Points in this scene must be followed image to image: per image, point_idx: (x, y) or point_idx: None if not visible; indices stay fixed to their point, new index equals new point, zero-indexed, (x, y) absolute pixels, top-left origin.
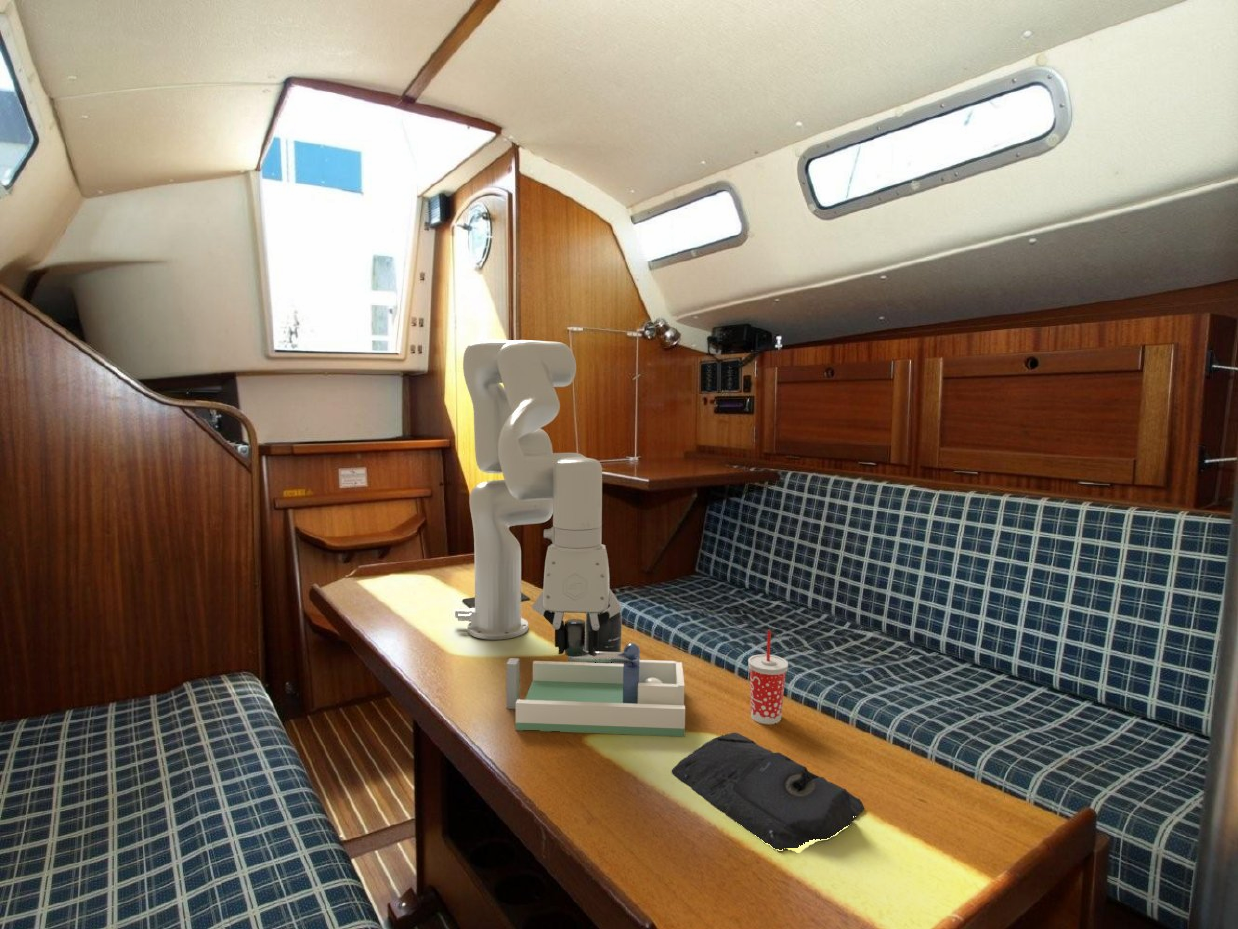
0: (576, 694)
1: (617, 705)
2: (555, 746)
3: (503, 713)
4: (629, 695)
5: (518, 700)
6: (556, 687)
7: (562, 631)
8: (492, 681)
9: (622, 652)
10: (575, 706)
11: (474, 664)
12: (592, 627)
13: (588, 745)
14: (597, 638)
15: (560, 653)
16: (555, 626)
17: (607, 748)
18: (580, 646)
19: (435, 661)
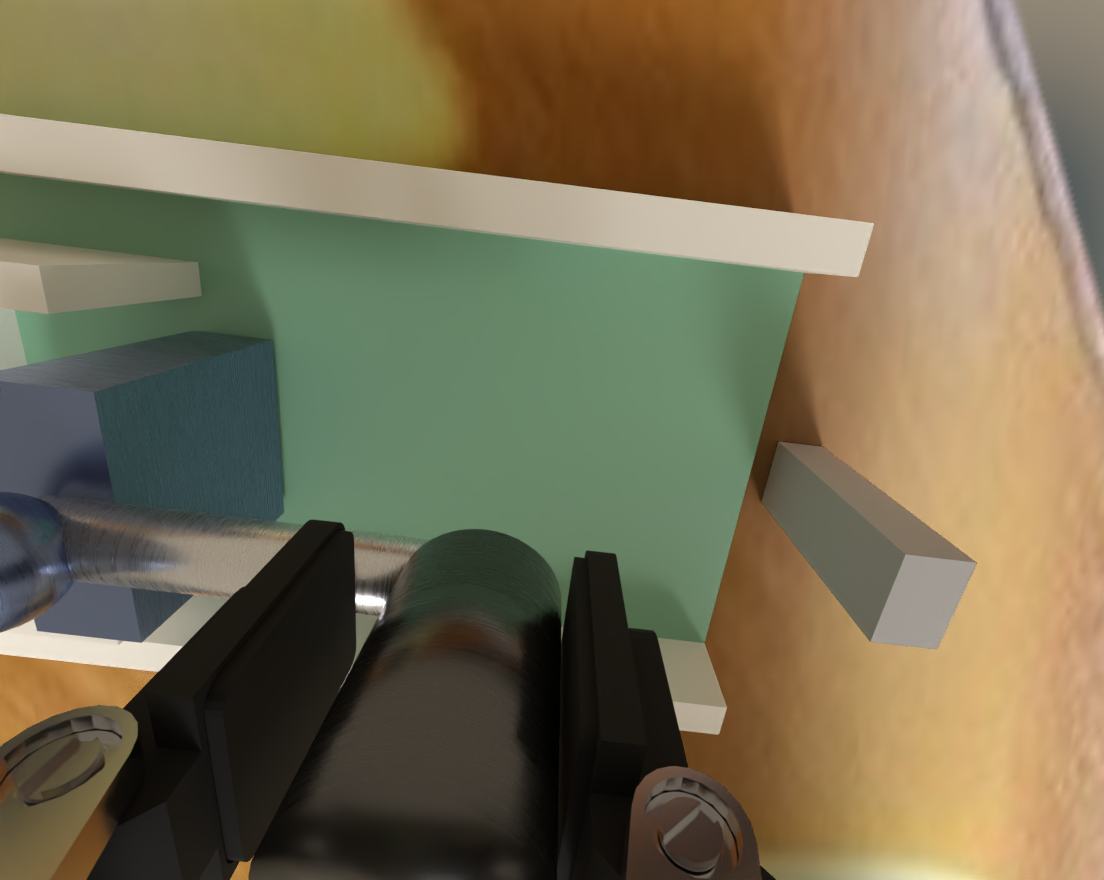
0: (508, 508)
1: (225, 160)
2: (608, 45)
3: (840, 403)
4: (194, 348)
5: (852, 259)
6: None
7: (591, 730)
8: (860, 678)
9: (79, 569)
10: (493, 176)
11: (917, 807)
12: (122, 751)
13: (442, 50)
14: (187, 645)
15: (599, 552)
16: (700, 818)
17: (345, 11)
18: (405, 590)
19: (1066, 836)
